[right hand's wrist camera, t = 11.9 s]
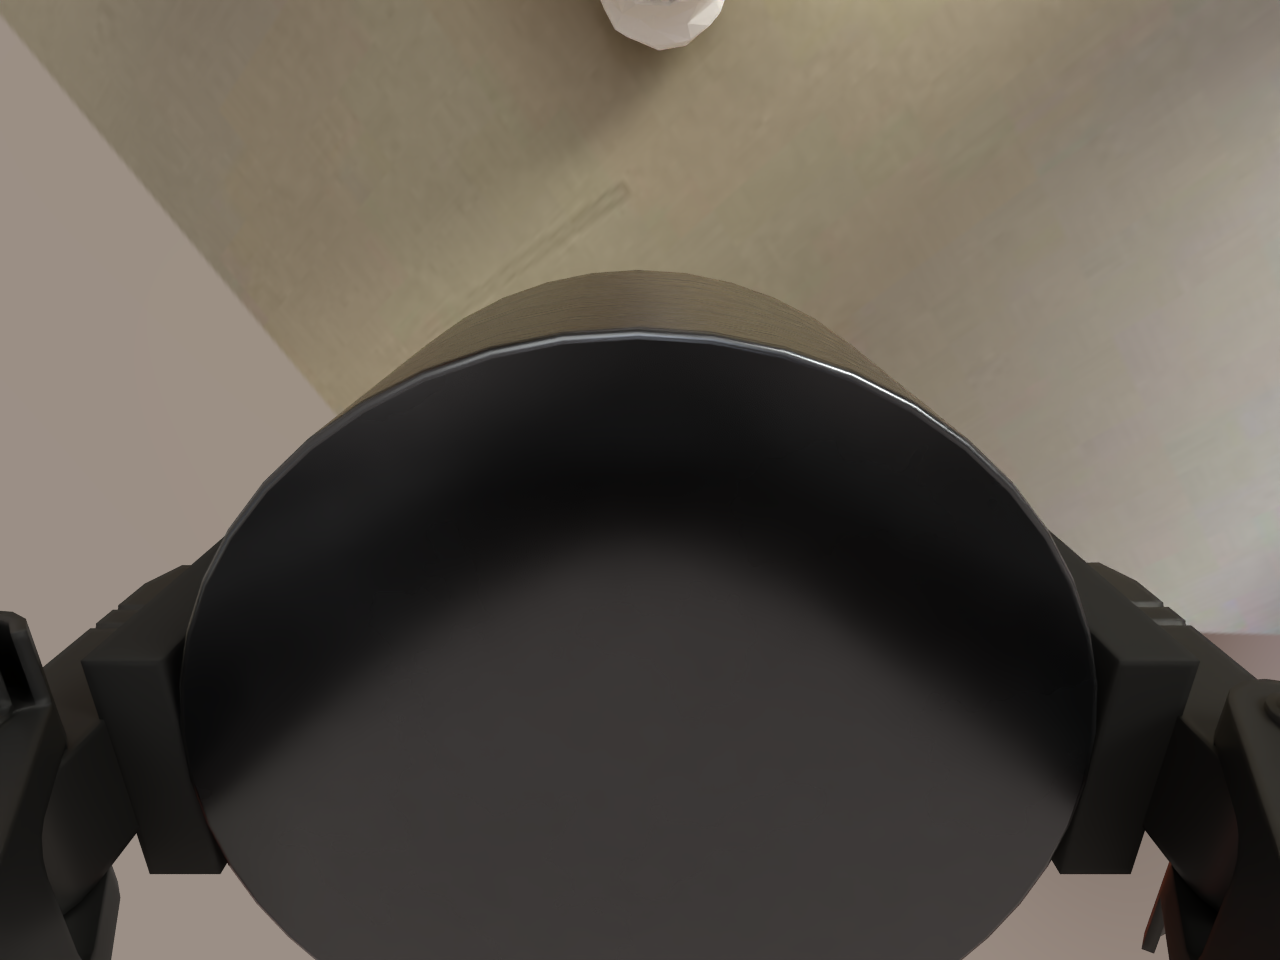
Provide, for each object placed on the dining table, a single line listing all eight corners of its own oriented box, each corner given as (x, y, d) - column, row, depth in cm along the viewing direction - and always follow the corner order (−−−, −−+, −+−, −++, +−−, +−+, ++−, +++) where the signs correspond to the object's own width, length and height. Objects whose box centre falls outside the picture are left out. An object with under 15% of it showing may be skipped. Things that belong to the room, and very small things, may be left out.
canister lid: (283, 269, 10) (55, 328, 6) (995, 269, 10) (1219, 328, 6) (375, 813, 13) (268, 1069, 9) (902, 813, 13) (1008, 1070, 9)
